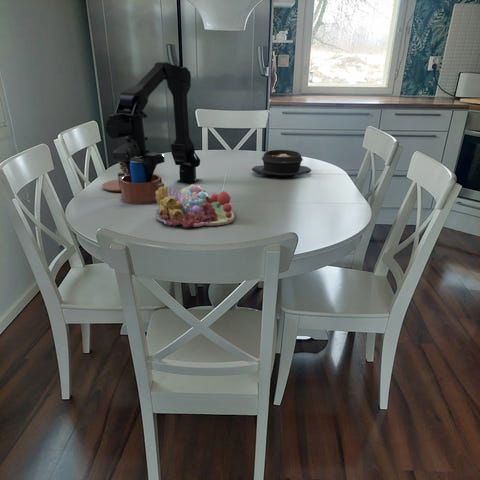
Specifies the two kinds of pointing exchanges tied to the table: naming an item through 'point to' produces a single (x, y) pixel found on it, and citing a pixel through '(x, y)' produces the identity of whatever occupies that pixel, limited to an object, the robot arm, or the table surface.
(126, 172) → the pine cone
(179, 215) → the candy landscape model
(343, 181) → the table surface
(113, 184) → the pot lid
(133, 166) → the beverage can
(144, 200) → the pot
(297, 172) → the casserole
